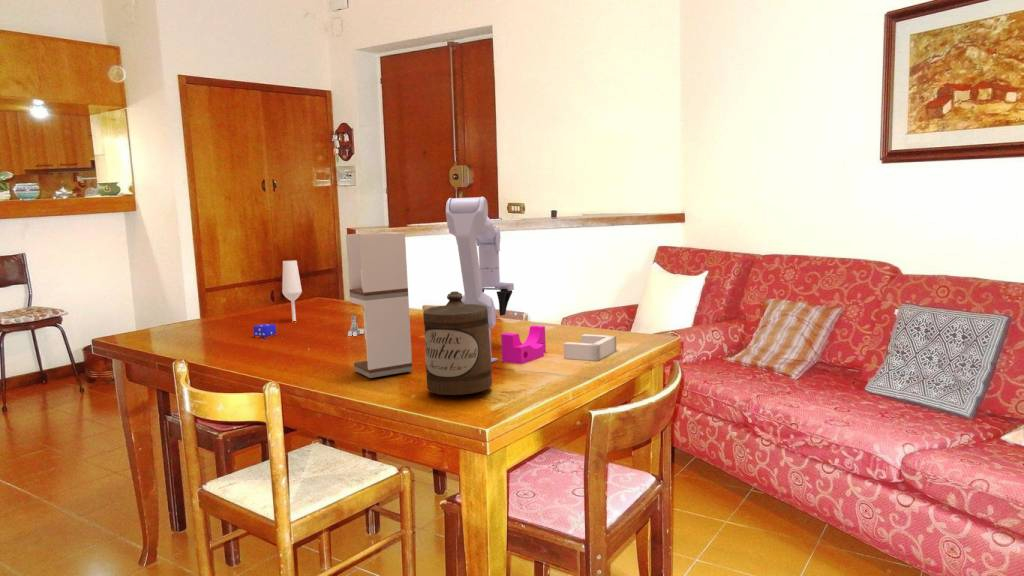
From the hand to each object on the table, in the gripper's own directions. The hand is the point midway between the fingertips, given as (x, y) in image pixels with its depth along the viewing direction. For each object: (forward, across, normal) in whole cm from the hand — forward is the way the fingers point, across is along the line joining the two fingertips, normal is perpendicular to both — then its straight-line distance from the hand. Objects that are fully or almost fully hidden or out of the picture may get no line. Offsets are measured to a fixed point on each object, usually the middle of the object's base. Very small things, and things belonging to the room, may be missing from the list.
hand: (491, 314), depth 205 cm
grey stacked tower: (+10, +12, +36) cm, 39 cm away
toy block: (+10, -17, +10) cm, 22 cm away
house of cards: (+10, +48, +2) cm, 49 cm away
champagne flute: (+10, +86, -7) cm, 87 cm away
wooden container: (+10, -16, +43) cm, 47 cm away
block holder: (+9, -31, +1) cm, 32 cm away
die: (+10, +77, +15) cm, 79 cm away
